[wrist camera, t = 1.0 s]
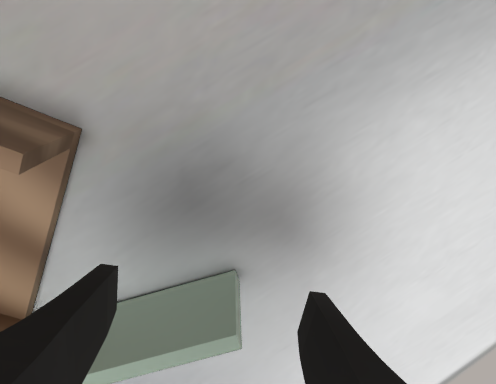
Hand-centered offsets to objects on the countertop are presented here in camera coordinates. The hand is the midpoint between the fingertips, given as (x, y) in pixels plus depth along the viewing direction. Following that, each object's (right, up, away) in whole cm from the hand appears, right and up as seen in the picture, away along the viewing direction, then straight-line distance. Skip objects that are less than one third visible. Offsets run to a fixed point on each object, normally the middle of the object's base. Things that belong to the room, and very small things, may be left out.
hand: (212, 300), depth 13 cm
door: (-7, -4, +11) cm, 14 cm away
